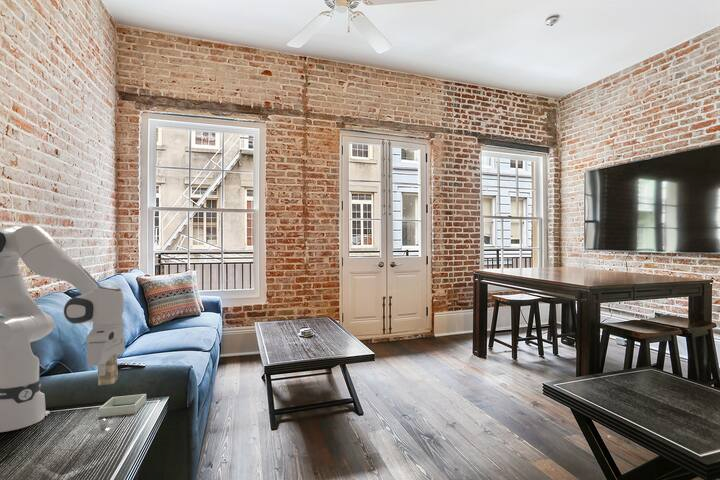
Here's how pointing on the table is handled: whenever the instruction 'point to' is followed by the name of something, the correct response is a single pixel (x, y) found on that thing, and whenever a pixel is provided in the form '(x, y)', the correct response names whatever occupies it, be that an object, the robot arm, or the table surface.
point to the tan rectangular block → (109, 372)
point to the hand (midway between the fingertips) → (107, 372)
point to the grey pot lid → (103, 427)
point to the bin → (121, 410)
